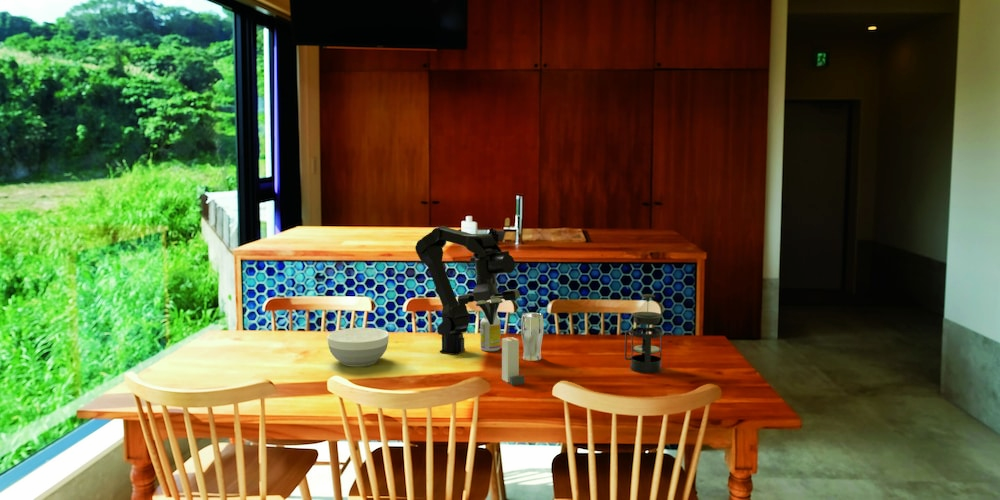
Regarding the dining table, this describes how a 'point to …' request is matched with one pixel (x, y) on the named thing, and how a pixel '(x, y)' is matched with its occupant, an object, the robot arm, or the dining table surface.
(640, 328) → the french press
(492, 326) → the supplement bottle
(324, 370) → the dining table surface
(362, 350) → the bowl
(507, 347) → the white rectangular block
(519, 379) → the console board
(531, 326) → the beer glass
